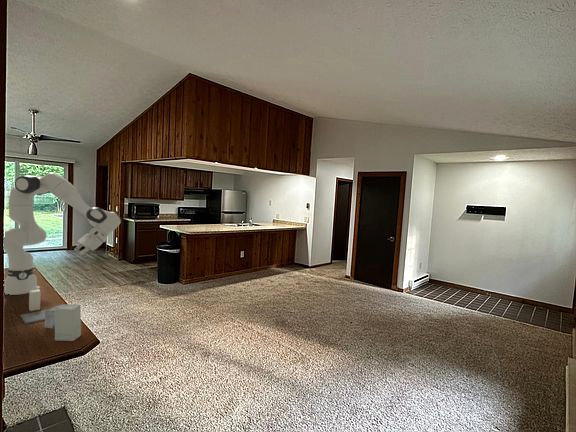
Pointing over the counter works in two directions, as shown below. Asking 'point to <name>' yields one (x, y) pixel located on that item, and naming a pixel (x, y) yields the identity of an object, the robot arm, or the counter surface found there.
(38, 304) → the cream block
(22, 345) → the counter surface
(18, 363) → the counter surface
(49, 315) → the medicine box
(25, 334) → the counter surface
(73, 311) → the skincare box
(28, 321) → the mat
